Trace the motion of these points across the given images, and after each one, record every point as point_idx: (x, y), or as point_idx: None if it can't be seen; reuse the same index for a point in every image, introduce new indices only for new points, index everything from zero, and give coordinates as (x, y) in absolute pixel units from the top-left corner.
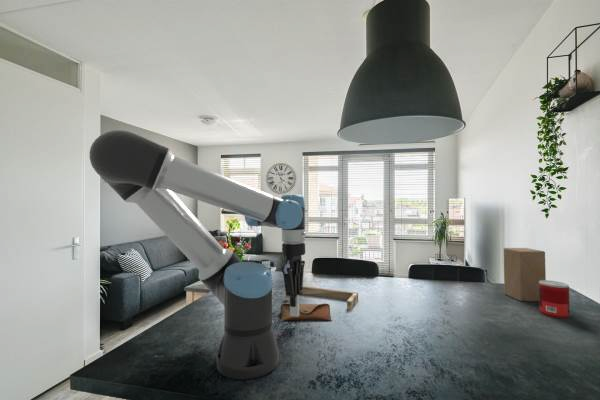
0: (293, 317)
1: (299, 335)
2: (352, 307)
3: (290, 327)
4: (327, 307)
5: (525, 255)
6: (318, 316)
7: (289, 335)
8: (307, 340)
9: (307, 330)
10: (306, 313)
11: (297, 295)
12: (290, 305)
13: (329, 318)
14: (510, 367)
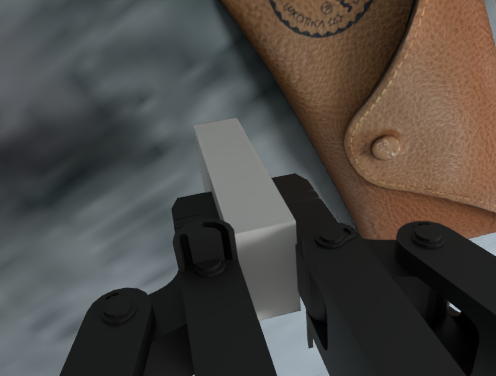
0: (282, 74)
1: (84, 243)
2: None
3: (151, 123)
4: (490, 232)
5: None
6: (366, 221)
7: (34, 196)
8: (61, 309)
9: None
10: (352, 161)
11: (279, 304)
12: (173, 210)
13: None
14: None
